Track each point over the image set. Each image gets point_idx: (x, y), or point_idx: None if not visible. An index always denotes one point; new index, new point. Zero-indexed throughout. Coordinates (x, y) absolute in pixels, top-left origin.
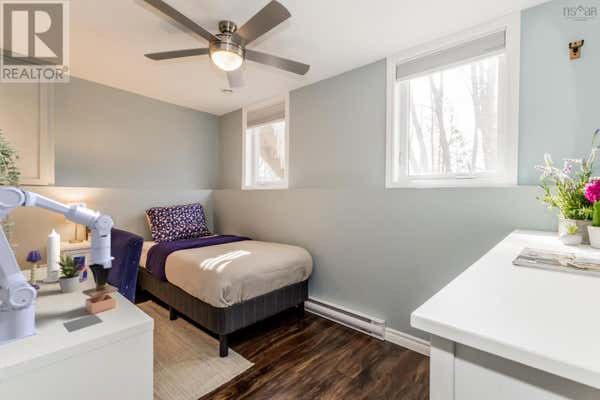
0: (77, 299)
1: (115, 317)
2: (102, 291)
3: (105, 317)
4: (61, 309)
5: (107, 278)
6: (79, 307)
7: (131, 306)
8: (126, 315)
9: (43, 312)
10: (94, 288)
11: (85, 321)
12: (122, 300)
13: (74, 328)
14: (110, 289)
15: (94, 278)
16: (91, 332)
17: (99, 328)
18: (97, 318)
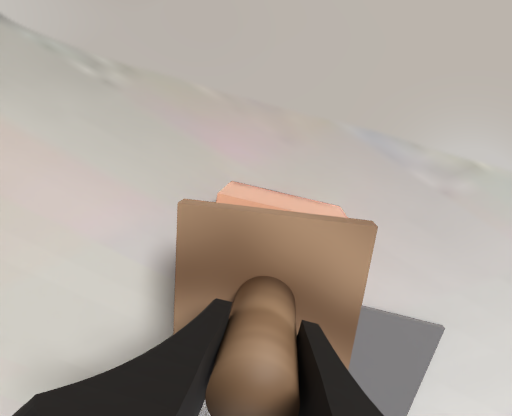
0: (17, 216)
1: (446, 270)
2: (321, 322)
3: (395, 289)
4: (103, 314)
5: (341, 361)
6: (147, 270)
7: (397, 142)
8: (484, 233)
9: (78, 358)
10: (189, 305)
11: (359, 355)
12: (251, 107)
13: (384, 404)
14: (334, 269)
15: (200, 405)
16: (483, 393)
17: (482, 363)
18: (381, 319)
